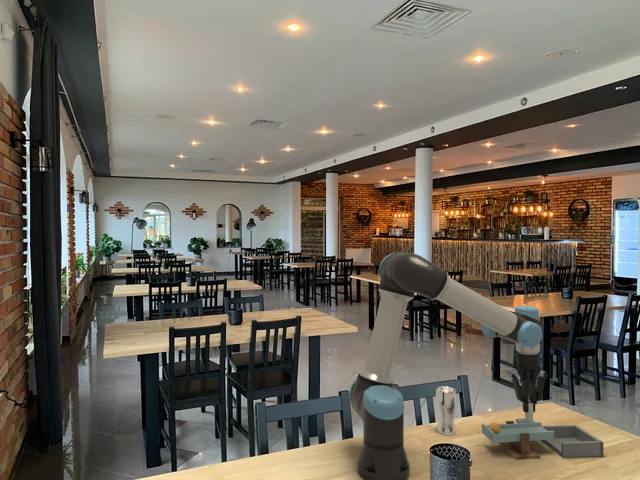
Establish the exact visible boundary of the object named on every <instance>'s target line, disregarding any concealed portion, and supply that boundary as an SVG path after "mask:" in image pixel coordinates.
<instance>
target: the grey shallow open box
mask: <svg viewBox="0 0 640 480" xmlns="http://www.w3.org/2000/svg"><path fill="white" fill-rule="evenodd" d="M542 427H543V428H544V429H546V430H547V431H554V439H551V440H540V441H541V442H542V443H543V444H544V445H545V446H546V447H548V448H549V449H551V450H552V451H554V452H555V453H556V454H557V455H559V456H560V457H561V458H563V459H576V458H579V459H580V458H600V457H601V458H602V457H604V441H603V440H600V439H599V438H597V437H596V436H594V435H593V434H591V433H589V432H588V431H586V430H585V429H584V428H581V427H580V426H579V425H577V424H563V425H559V424H558V425H557V424H556V425H542Z"/></svg>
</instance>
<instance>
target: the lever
mask: <svg viewBox="0 0 640 480" xmlns="http://www.w3.org/2000/svg"><path fill="white" fill-rule="evenodd" d="M499 426H500V432H499V433H497V434H495V433H494V432H493V431H492V430H491V429H489V424H485V423H481V433H482V434H483V435H484V436H485V437H486V438H487V439H488V440H489V441H490V442H491V443H492V444H498V443H501V442H518V441H521V433H529V441H530V442H531V441H532V442H533V441H541V440H551V439H554V431H547V430H546V429H544V428H543V427H542V426H543V425H542V422H541V421H537V422H536V421H534V420H533V423H528V422H527V421H526V420H525V417H524V418H515V423H514V424H506V423H503V424H499Z"/></svg>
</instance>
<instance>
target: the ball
mask: <svg viewBox="0 0 640 480" xmlns="http://www.w3.org/2000/svg"><path fill="white" fill-rule="evenodd" d="M488 425H489V429H491V430H492V431H493V432H494V433H495V434H497V433H499V432H500V426H499V424H498V423H497V422H494V421H493V422H490V423H489V424H488Z"/></svg>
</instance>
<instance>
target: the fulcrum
mask: <svg viewBox="0 0 640 480" xmlns="http://www.w3.org/2000/svg"><path fill="white" fill-rule="evenodd" d="M505 424H515V421H514V420H506V421H505ZM530 442H531V441H529V433H521V441H518V442H501V443H497V444H498V445H499V446H500V447H502V449H504V451H505V452H506V453H508V454H509V455H510V456H511V457H512V458H513V459H514V460H529V459H530V460H532V459H533V460H534V459H541V455H540V454H539V453H537V452H536V451H535V450H534V449H533V448H531V447H530V445H531V444H530Z"/></svg>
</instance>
